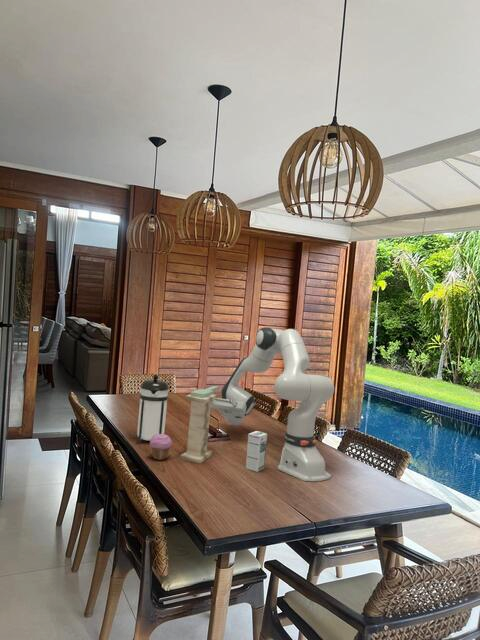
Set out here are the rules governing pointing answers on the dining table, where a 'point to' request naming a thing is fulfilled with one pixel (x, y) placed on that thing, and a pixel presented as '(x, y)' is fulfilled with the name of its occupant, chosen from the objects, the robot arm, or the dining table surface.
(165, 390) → the coffee press
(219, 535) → the dining table surface
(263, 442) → the syrup box
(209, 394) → the spatula
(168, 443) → the cupcake
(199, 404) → the stand
